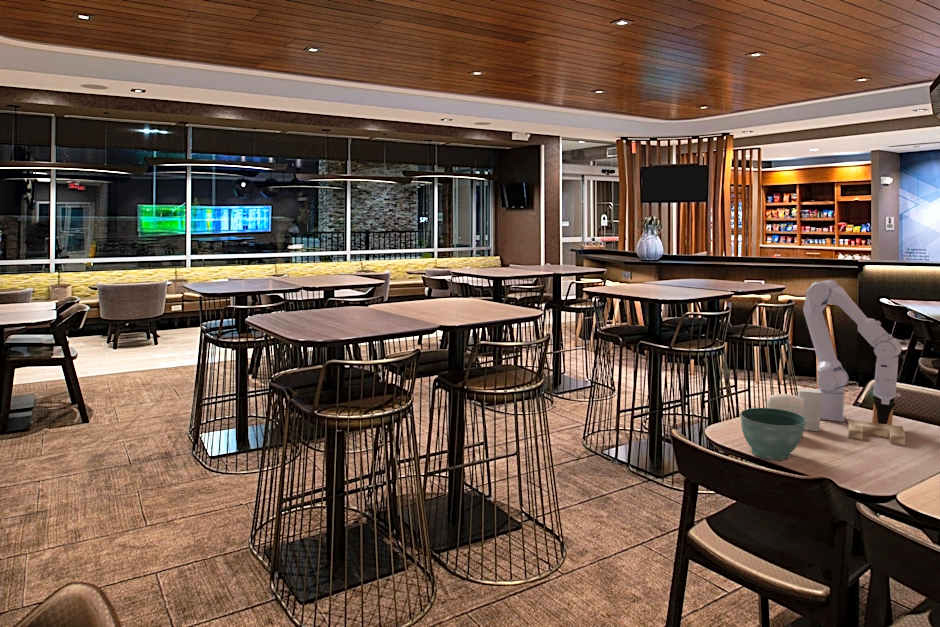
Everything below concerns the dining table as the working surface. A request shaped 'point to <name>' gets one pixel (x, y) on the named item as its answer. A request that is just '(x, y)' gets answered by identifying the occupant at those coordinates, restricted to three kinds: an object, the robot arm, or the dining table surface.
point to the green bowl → (772, 431)
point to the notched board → (876, 431)
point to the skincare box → (811, 408)
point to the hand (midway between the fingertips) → (882, 421)
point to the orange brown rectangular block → (875, 419)
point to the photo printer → (786, 403)
